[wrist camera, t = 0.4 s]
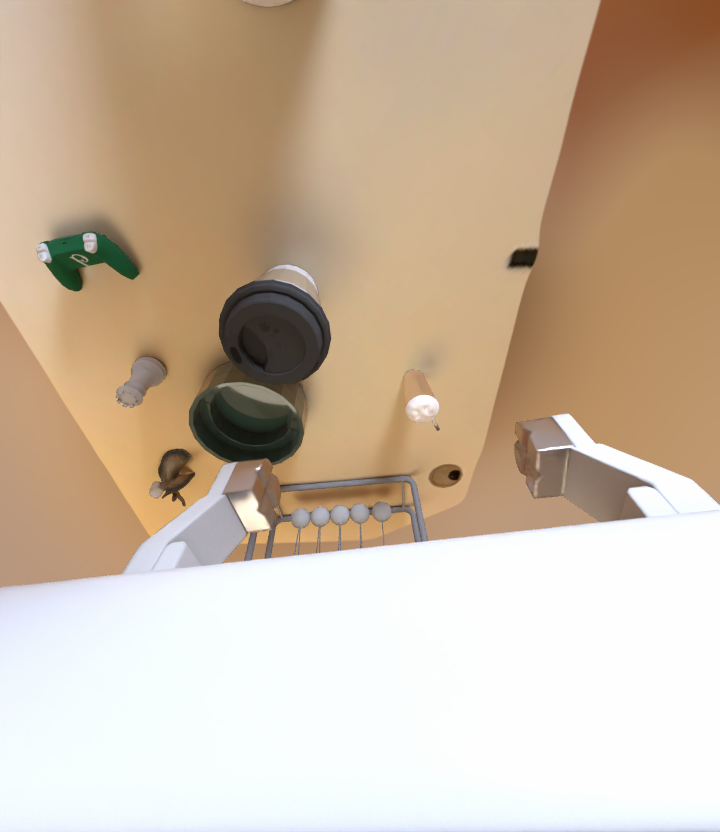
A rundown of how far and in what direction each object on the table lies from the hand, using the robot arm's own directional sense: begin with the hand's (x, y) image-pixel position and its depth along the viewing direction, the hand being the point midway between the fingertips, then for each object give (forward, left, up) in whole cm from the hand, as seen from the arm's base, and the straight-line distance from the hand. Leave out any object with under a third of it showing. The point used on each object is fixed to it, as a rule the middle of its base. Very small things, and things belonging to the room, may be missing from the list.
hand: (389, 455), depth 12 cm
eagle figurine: (+27, -44, -39) cm, 65 cm away
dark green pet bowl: (+19, -24, -39) cm, 50 cm away
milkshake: (+24, +1, -39) cm, 46 cm away
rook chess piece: (+8, -35, -39) cm, 53 cm away
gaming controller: (-7, -31, -39) cm, 50 cm away
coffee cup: (+5, -11, -39) cm, 41 cm away
